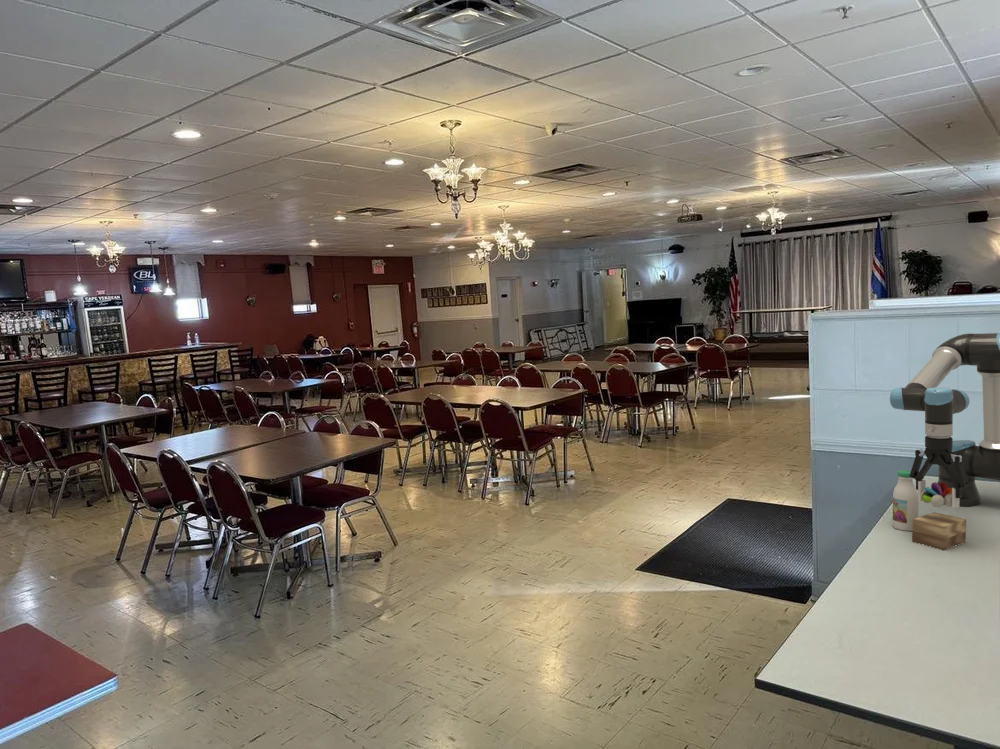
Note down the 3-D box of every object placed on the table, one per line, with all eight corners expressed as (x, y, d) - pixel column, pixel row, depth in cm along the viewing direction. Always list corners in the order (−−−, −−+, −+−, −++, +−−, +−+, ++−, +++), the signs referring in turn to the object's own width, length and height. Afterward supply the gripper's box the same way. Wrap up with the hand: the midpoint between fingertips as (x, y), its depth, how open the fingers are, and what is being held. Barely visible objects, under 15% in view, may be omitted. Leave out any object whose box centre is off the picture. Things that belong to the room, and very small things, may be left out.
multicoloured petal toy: (962, 507, 221) (962, 485, 221) (931, 509, 222) (931, 486, 221) (945, 500, 230) (945, 478, 229) (915, 501, 230) (915, 480, 229)
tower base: (934, 535, 234) (934, 523, 234) (965, 543, 225) (965, 531, 225) (912, 542, 229) (912, 531, 228) (943, 551, 220) (943, 539, 219)
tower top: (934, 523, 234) (934, 512, 233) (966, 531, 225) (966, 519, 224) (912, 531, 228) (912, 519, 228) (944, 539, 219) (944, 526, 219)
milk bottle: (911, 524, 245) (911, 468, 243) (922, 531, 237) (922, 473, 235) (888, 524, 246) (888, 469, 244) (898, 531, 238) (898, 474, 236)
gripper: (897, 432, 232) (897, 498, 234) (969, 442, 212) (968, 514, 214) (910, 429, 235) (910, 494, 237) (983, 439, 215) (982, 509, 217)
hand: (938, 503), depth 226 cm, fingers closed on multicoloured petal toy, 10 cm apart
